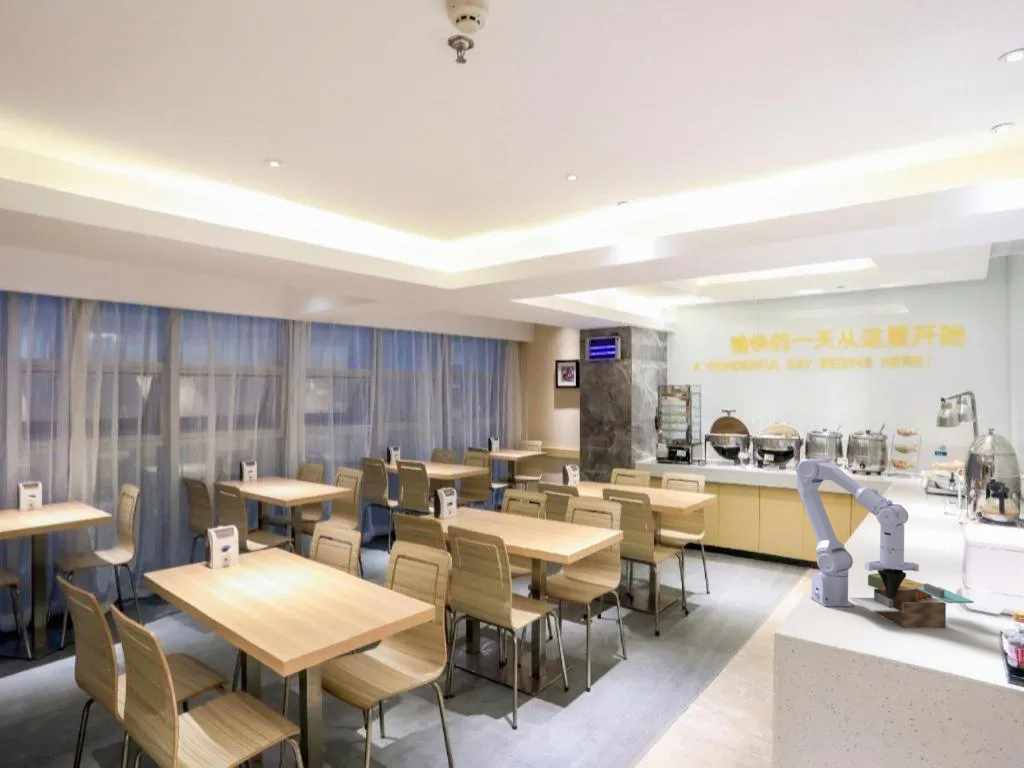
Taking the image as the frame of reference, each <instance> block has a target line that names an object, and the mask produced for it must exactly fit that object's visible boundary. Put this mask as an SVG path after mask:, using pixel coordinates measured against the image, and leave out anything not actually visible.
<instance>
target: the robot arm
mask: <svg viewBox="0 0 1024 768" xmlns="http://www.w3.org/2000/svg"><path fill="white" fill-rule="evenodd" d="M795 472H796V474H797V480H796V481H797V483H796V489H797V492H798V494H799V497H800V500H801V503H802V505H803V507H804V510H805V513H806V515H807V518H808V520H809V522H810V525H811V528H812V531H813V534H814V536H815V538H816V541H817V545H816V548H815V553H816V562H817V567H818V568H819V569H820V572H816V573H815V572H814V574H813V575H812V577H811V595H810V597H809V598H810V599H813V600H814V601H816V602H817V603H819V605H820V604H821V605H822V606H823V607H855V606H856V604H854V603H853V602H851V601H849V569H851V568H852V567H853V563H854V560H853V557H852V555H851V553H849V551H848V550H847V548H846V547H845V544H843V542H841V541H840V540H839V539H838V538H837V536H836V534H835V530H834V528H833V526H832V523H831V521H830V519H829V516H828V514H827V511H826V508H825V506H824V503H823V501H822V499H821V496H820V493H819V487H820V485H821V484H822V483H823V482H825V481H832V482H833V483H835V484H836V485H837V486H840V487H841V488H843V490H845V491H847V492H848V493H850V494H852V495H853V496H854V497H855V502H856V503H857V504H859V505H860V506H861V507H862V508H864V509H866V511H868V512H870V514H872V515H874V516H875V517H876V520H877V521H878V523H879V525H880V531H879V536H880V539H879V540H880V542H879V543H880V544H879V560H877V561H866V562H864V570H866V571H869V572H873V571H877V573H879V574H880V576H881V578H882V580H883V583H884V586H885V589H886V594H887V595H888V596H890V597H896V595H897V592H898V589H899V586H900V584H901V583H902V581H903V580H904V578H905V579H906V577H907V573H906V572H904V571H908V572H909V571H910V572H911V571H914V572H919V570H920V569H919V567H920V565H919V564H918V563H915V562H911V561H910V562H907V561H905V524H906V523H907V522H908V519H909V513H908V511H907V509H906V508H904V507H903V505H901V504H899V503H893V502H894V501H892V499H887V498H886V497H884V496H883V495H882V494H880V493H878V491H879V490H878V489H876V488H875V487H873V488H871V487H869V486H867V487H863V486H862V485H861V484H859V483H858V482H856V480H854V479H853V478H852V477H850V476H849V475H847V474H846V473H845V472H844V471H842V469H840V468H839V467H838V466H837V464H835V463H834V462H831V460H829V459H827V458H825V457H817V458H804V459H802V460H800V461H799V463H798V464H797V466H796V467H795Z"/></svg>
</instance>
